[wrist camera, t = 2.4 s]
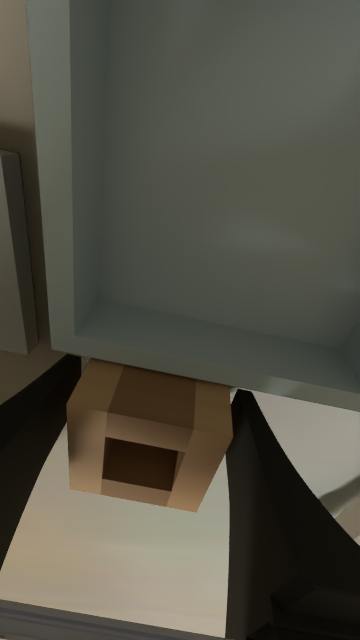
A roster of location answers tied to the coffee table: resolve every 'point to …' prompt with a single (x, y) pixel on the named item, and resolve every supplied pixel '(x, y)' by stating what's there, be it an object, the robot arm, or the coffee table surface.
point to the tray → (203, 188)
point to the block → (146, 434)
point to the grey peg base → (15, 263)
